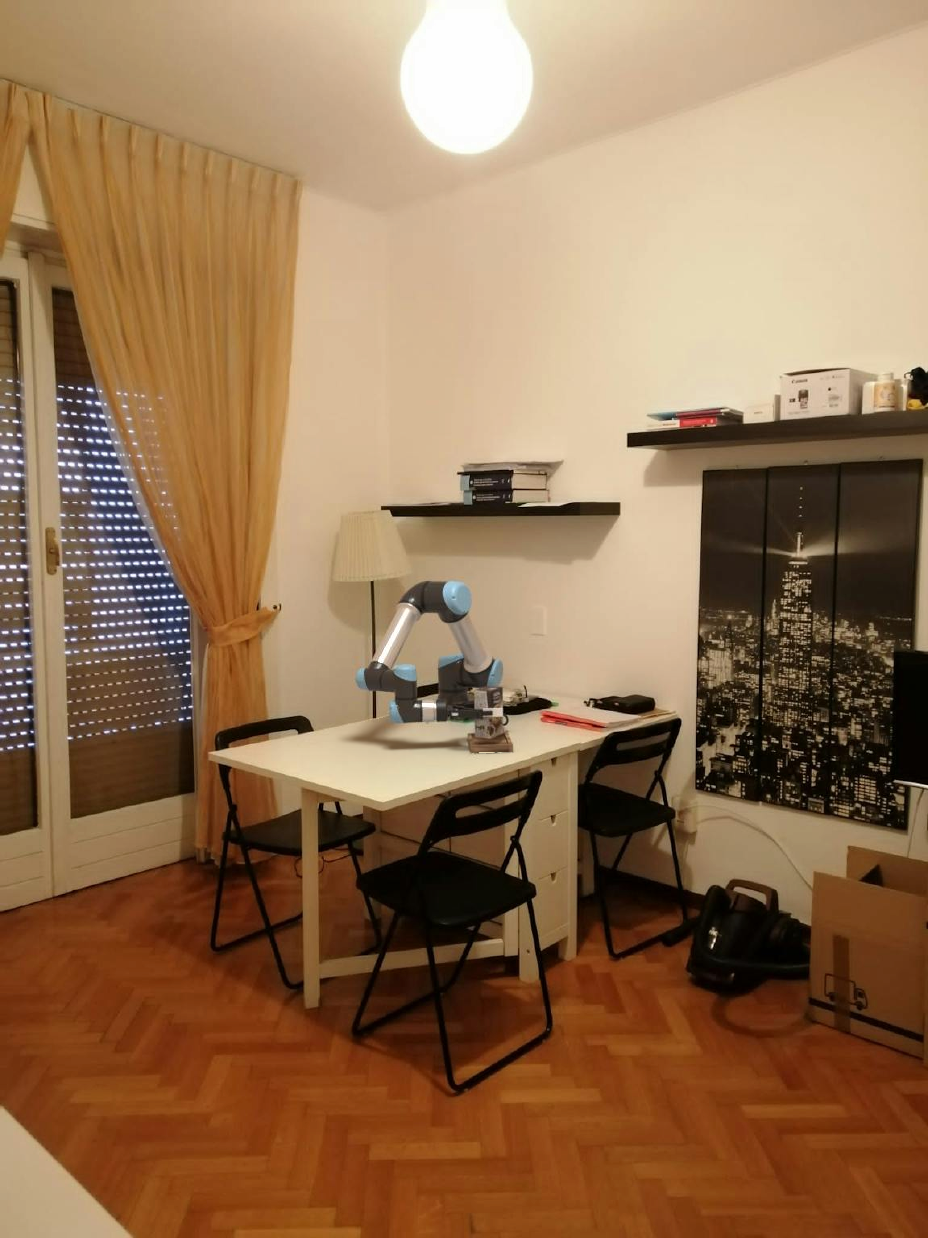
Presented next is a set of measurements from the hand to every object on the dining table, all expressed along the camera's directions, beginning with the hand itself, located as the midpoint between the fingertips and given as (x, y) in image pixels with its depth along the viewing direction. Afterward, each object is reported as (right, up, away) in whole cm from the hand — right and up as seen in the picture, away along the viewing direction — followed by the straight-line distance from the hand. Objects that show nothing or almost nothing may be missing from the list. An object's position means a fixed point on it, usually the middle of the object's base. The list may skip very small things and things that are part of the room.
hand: (501, 708), depth 305 cm
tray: (-4, -13, +1) cm, 14 cm away
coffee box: (-4, -9, +1) cm, 10 cm away
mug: (-2, -11, +22) cm, 25 cm away
